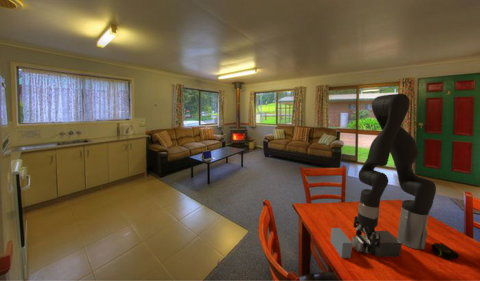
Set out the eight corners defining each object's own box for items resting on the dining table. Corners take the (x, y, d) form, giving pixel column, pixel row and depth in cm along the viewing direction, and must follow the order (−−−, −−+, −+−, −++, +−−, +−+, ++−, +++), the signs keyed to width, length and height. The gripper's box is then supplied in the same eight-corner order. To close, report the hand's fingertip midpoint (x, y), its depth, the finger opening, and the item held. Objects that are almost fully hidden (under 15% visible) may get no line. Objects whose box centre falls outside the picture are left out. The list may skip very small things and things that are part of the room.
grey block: (338, 241, 88) (339, 228, 87) (350, 258, 78) (352, 243, 77) (330, 241, 88) (331, 228, 87) (341, 258, 78) (342, 243, 77)
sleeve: (385, 243, 86) (387, 230, 85) (399, 256, 78) (401, 242, 77) (363, 243, 86) (365, 230, 85) (375, 256, 79) (377, 242, 78)
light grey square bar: (386, 244, 85) (387, 233, 84) (396, 253, 79) (398, 242, 78) (350, 244, 86) (351, 233, 85) (358, 253, 80) (359, 242, 79)
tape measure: (459, 261, 76) (460, 253, 75) (442, 261, 76) (443, 253, 75) (441, 249, 82) (443, 242, 82) (426, 248, 83) (427, 241, 82)
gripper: (350, 204, 87) (347, 234, 89) (370, 222, 73) (366, 257, 75) (366, 204, 87) (362, 234, 89) (389, 222, 73) (384, 257, 75)
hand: (364, 245), depth 82 cm, fingers open, 8 cm apart
